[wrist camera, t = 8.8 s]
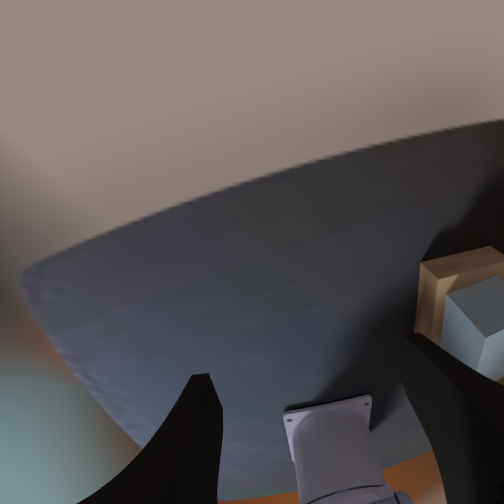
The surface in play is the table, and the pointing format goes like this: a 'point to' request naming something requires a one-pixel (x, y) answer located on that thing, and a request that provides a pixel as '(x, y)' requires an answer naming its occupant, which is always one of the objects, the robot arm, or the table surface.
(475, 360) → the grey cube
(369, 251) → the table surface
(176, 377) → the table surface
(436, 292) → the oak block
